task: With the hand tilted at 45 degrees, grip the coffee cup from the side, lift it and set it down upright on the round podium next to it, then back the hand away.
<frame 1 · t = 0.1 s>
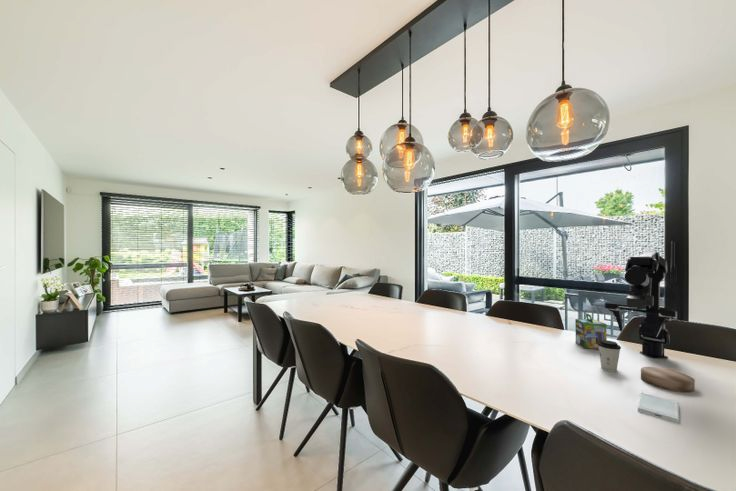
hand: (637, 334, 107), 15 cm above the table, tool pointing down, fingers open, 9 cm apart
podium: (666, 383, 103), on the table
hard drive: (658, 411, 87), on the table
chalk box: (590, 346, 141), on the table
coffee cup: (608, 369, 115), on the table
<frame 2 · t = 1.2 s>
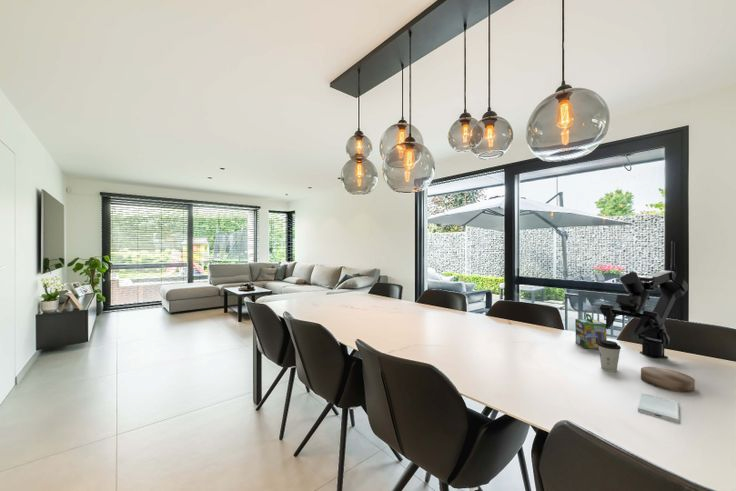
hand: (620, 331, 119), 13 cm above the table, tool tilted 45°, fingers open, 9 cm apart
nothing on the table moved.
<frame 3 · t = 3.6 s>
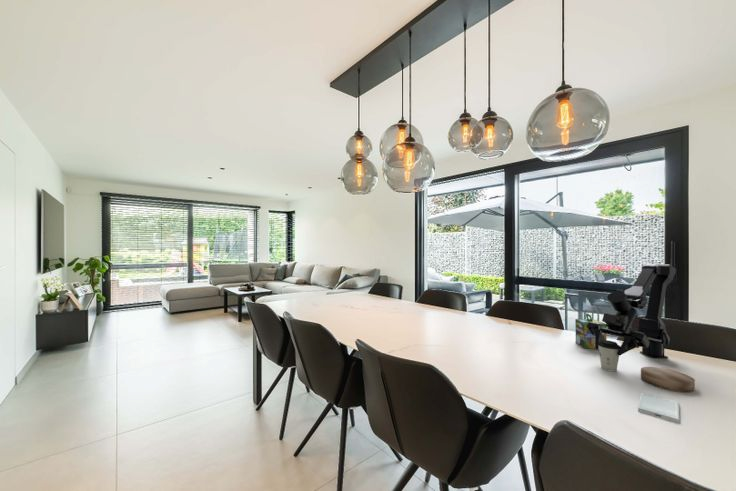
hand: (606, 351, 115), 7 cm above the table, tool tilted 45°, fingers closed on coffee cup, 7 cm apart
coffee cup: (608, 369, 115), on the table, touching gripper
everything else where it was.
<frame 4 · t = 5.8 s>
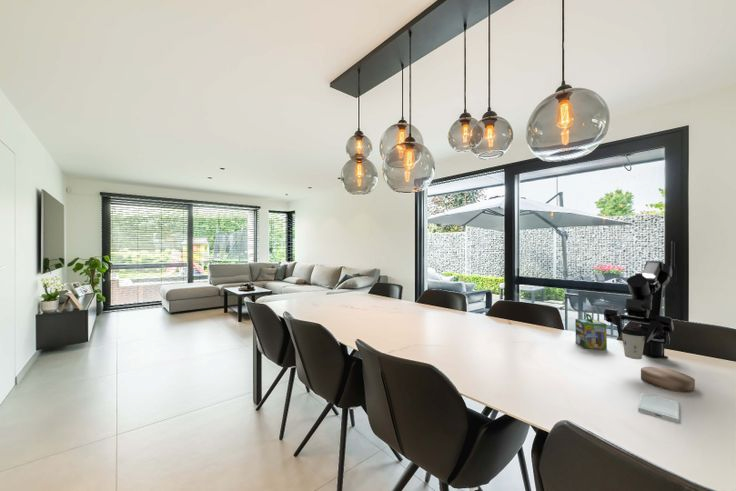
hand: (632, 339, 109), 13 cm above the table, tool tilted 45°, fingers closed on coffee cup, 7 cm apart
coffee cup: (633, 357, 109), point 6 cm above the table, touching gripper
everything else where it was.
when the fingers open (11 cm above the table, at t = 7.9 s): coffee cup drops 1 cm, resting on podium.
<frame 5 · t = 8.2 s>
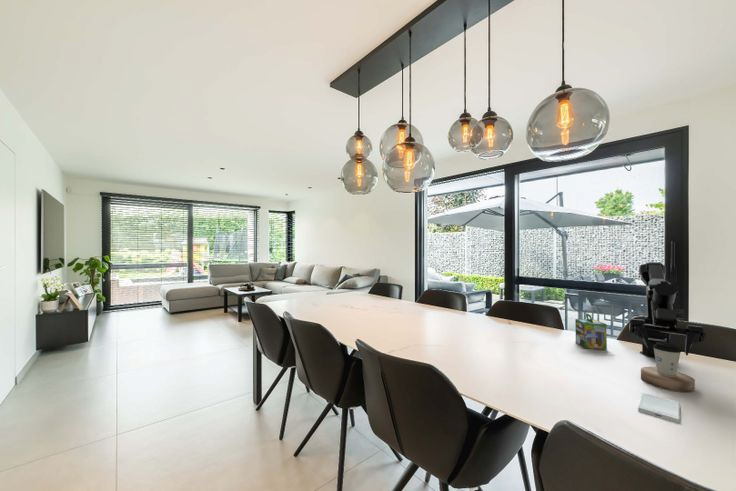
hand: (667, 351, 102), 11 cm above the table, tool tilted 45°, fingers open, 9 cm apart
coffee cup: (666, 374, 104), point 3 cm above the table, touching podium
everything else where it was.
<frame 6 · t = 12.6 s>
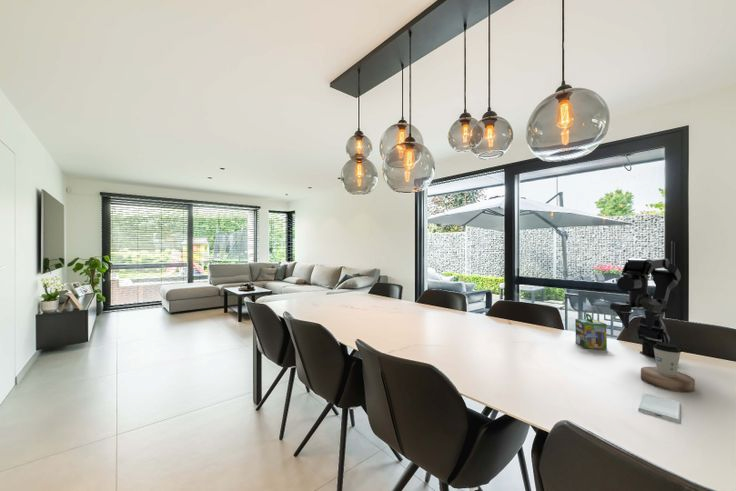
hand: (638, 328, 123), 13 cm above the table, tool pointing down, fingers open, 9 cm apart
nothing on the table moved.
at the end: coffee cup inside the target area on the podium (0.1 cm from its centre), point 2.8 cm above the podium's base; coffee cup tilted 0°; the gripper is holding nothing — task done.
